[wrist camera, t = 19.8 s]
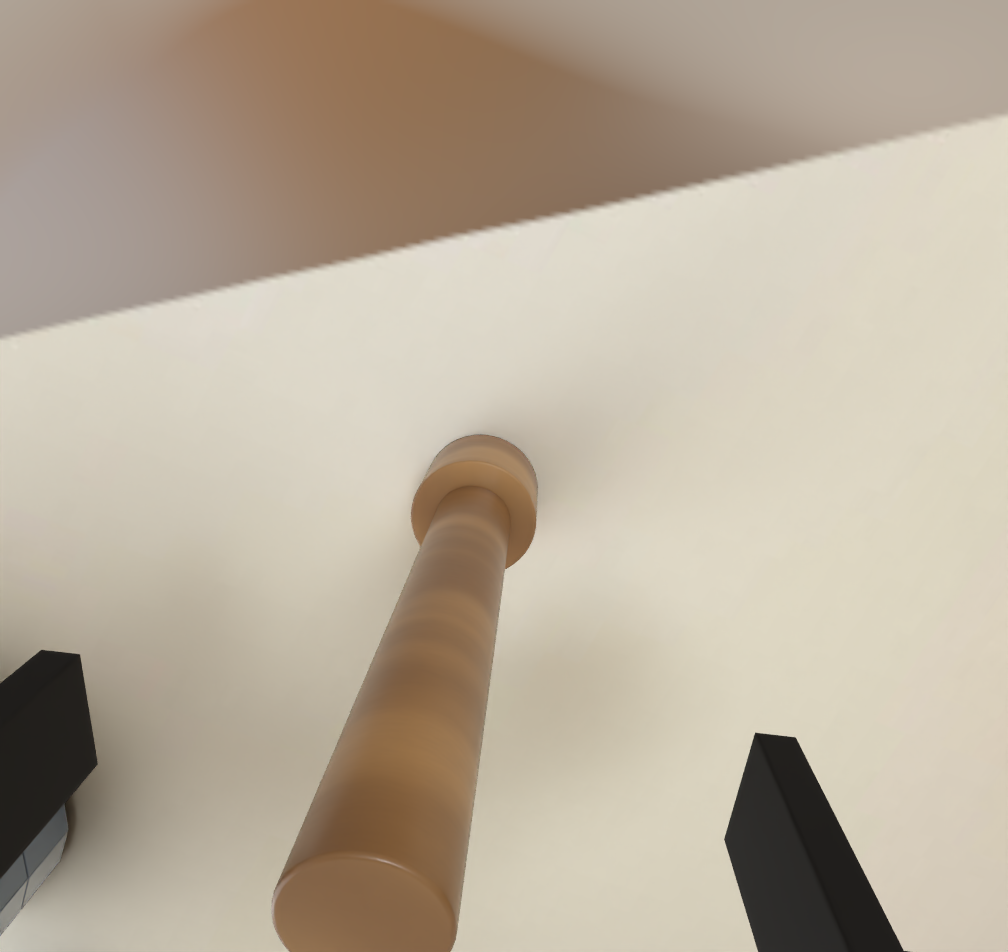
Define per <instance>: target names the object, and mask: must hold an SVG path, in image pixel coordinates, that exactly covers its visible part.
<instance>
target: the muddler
mask: <svg viewBox="0 0 1008 952" xmlns="http://www.w3.org/2000/svg"><path fill="white" fill-rule="evenodd" d="M537 488H538V487H537V479H536V475H535V472H534V469H533V467H532V465H531V463H530V462H529V460H528V459H527V457H526V456H525V455H524V454H523V453H522V452H521V451H520V450H519V449H518V448H517V447H515V446H514V445H513V444H511V443H509V442H508V441H505V440H503V439H501V438H497V437H494V436H488V435H472V436H467V437H463V438H460V439H458V440H456V441H454V442H452V443H450V444H449V445H447V446H446V447H445V448H444V449H443V450H442V451H440V453H439V454H438V455H437V456H436V458H435V459H434V461H433V463H432V464H431V466H430V468H429V470H428V472H427V474H426V475H425V477H424V479H423V481H422V483H421V485H420V487H419V488H418V490H417V492H416V495H415V497H414V500H413V504H412V510H411V522H412V528H413V531H414V534H415V537H416V539H417V541H418V543H419V545H420V546H421V548H420V550H419V552H418V555H417V557H416V559H415V562H414V564H413V566H412V569H411V571H410V573H409V576H408V578H407V580H406V583H405V585H404V587H403V590H402V592H401V595H400V597H399V599H398V602H397V604H396V606H395V609H394V611H393V613H392V616H391V618H390V620H389V623H388V625H387V627H386V630H385V632H384V634H383V637H382V639H381V641H380V644H379V646H378V649H377V651H376V653H375V656H374V658H373V660H372V663H371V665H370V667H369V670H368V672H367V674H366V677H365V679H364V681H363V684H362V686H361V688H360V691H359V693H358V695H357V698H356V700H355V703H354V705H353V707H352V710H351V712H350V714H349V717H348V719H347V721H346V724H345V726H344V728H343V731H342V733H341V735H340V738H339V740H338V742H337V745H336V747H335V749H334V752H333V754H332V757H331V759H330V761H329V764H328V766H327V768H326V771H325V773H324V775H323V778H322V780H321V782H320V785H319V787H318V789H317V792H316V794H315V796H314V799H313V801H312V803H311V806H310V808H309V810H308V813H307V815H306V818H305V820H304V822H303V825H302V827H301V829H300V832H299V834H298V836H297V839H296V841H295V843H294V846H293V848H292V850H291V853H290V855H289V857H288V860H287V862H286V864H285V867H284V869H283V872H282V874H281V876H280V879H279V881H278V883H277V886H276V888H275V890H274V894H273V898H272V919H273V924H274V927H275V930H276V932H277V934H278V936H279V938H280V940H281V941H282V943H283V944H284V946H285V947H286V948H287V949H288V950H289V951H290V952H450V951H451V950H452V948H453V945H454V943H455V940H456V934H457V928H458V920H459V913H460V905H461V897H462V890H463V882H464V875H465V867H466V860H467V852H468V844H469V837H470V829H471V822H472V814H473V807H474V799H475V791H476V784H477V776H478V769H479V761H480V754H481V746H482V739H483V731H484V723H485V716H486V708H487V701H488V693H489V686H490V678H491V670H492V663H493V655H494V648H495V640H496V633H497V625H498V617H499V610H500V602H501V595H502V587H503V580H504V572H505V569H507V568H508V567H510V566H511V565H513V564H514V563H516V562H517V561H518V560H519V559H520V558H521V557H522V556H523V555H524V554H525V552H526V551H527V549H528V548H529V546H530V544H531V542H532V540H533V537H534V534H535V529H536V513H537Z"/></svg>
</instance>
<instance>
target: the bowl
mask: <svg viewBox="0 0 1008 952" xmlns="http://www.w3.org/2000/svg"><path fill="white" fill-rule="evenodd" d="M68 828H69V827H68V821H67V816H66V810H65V804H64V805H63V806H62V807H61V808H60V809H59V811H58V812H57V813H56V814H55V815H54V816H53V818H52V819H51V820H50V821H49V822H48V824H47V825H46V826H45V827H44V828H43V829H42V831H41V832H40V833H39V834H38V835H37V836H36V838H35V839H34V840H33V841H32V842H31V844H30V845H29V846H28V847H27V848H26V849H25V851H24V852H23V853H22V854H21V855H20V857H19V858H18V859H17V860H16V861H15V862H14V864H13V865H12V866H11V867H10V868H9V869H8V871H7V872H6V873H5V874H4V875H3V877H2V878H1V879H0V936H1V934H2V933H3V932H4V931H5V929H6V928H7V927H8V926H9V924H10V923H11V922H12V921H13V919H14V918H15V917H16V916H17V914H18V913H19V912H20V910H21V909H22V908H23V907H24V906H25V904H26V903H27V902H28V901H29V899H30V898H31V897H32V896H33V894H34V893H35V892H36V891H37V889H38V888H39V887H40V886H41V884H42V883H43V882H44V881H45V879H46V878H47V877H48V876H49V874H50V873H51V872H52V871H53V869H54V868H55V867H56V866H57V864H58V863H59V862H60V860H61V856H62V852H63V849H64V845H65V841H66V837H67V833H68Z"/></svg>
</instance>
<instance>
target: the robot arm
mask: <svg viewBox="0 0 1008 952" xmlns="http://www.w3.org/2000/svg"><path fill="white" fill-rule="evenodd" d="M97 765H98V763H97V757H96V750H95V744H94V738H93V732H92V726H91V720H90V714H89V707H88V701H87V695H86V689H85V683H84V677H83V670H82V664H81V658H80V654H72V653H63V652H55V651H46V650H41V651H40V652H38V653H37V654H36V655H35V656H33V657H32V658H31V659H30V660H29V661H27V662H26V663H25V664H24V665H22V666H21V667H20V668H19V669H18V670H16V671H15V672H14V673H13V674H11V675H10V676H9V677H8V678H6V679H5V680H4V681H3V682H2V683H0V879H1V878H2V877H3V875H4V874H5V873H6V872H7V871H8V869H9V868H10V867H11V866H12V865H13V864H14V862H15V861H16V860H17V859H18V858H19V857H20V855H21V854H22V853H23V852H24V851H25V849H26V848H27V847H28V846H29V845H30V844H31V842H32V841H33V840H34V839H35V838H36V836H37V835H38V834H39V833H40V832H41V831H42V829H43V828H44V827H45V826H46V825H47V824H48V822H49V821H50V820H51V819H52V818H53V816H54V815H55V814H56V813H57V812H58V811H59V809H60V808H61V807H62V806H63V805H64V804H65V802H66V801H67V800H68V799H69V798H70V796H71V795H72V794H73V793H74V792H75V791H76V789H77V788H78V787H79V786H80V785H81V783H82V782H83V781H84V780H85V779H86V778H87V776H88V775H89V774H90V773H91V772H92V771H93V769H94V768H95V767H96V766H97ZM724 840H725V843H726V846H727V850H728V853H729V856H730V860H731V863H732V866H733V870H734V873H735V876H736V880H737V883H738V886H739V890H740V893H741V896H742V899H743V903H744V906H745V909H746V913H747V916H748V919H749V923H750V926H751V929H752V933H753V936H754V939H755V943H756V946H757V949H758V952H908V951H904V950H903V949H902V947H901V945H900V943H899V941H898V939H897V937H896V935H895V933H894V931H893V929H892V927H891V925H890V923H889V921H888V919H887V917H886V915H885V913H884V911H883V909H882V907H881V905H880V903H879V901H878V899H877V897H876V895H875V893H874V891H873V889H872V887H871V885H870V883H869V881H868V879H867V877H866V876H865V874H864V872H863V870H862V868H861V866H860V864H859V862H858V860H857V858H856V856H855V854H854V852H853V850H852V848H851V846H850V844H849V842H848V840H847V838H846V836H845V834H844V832H843V830H842V828H841V826H840V824H839V822H838V820H837V818H836V816H835V814H834V812H833V810H832V808H831V806H830V804H829V803H828V801H827V799H826V797H825V795H824V793H823V791H822V789H821V787H820V785H819V783H818V781H817V779H816V777H815V775H814V773H813V771H812V769H811V767H810V765H809V763H808V761H807V759H806V757H805V755H804V753H803V751H802V749H801V747H800V745H799V743H798V741H797V739H796V738H795V737H787V736H778V735H770V734H761V733H755V735H754V739H753V742H752V746H751V749H750V753H749V756H748V759H747V763H746V766H745V770H744V773H743V777H742V780H741V784H740V787H739V790H738V794H737V797H736V801H735V804H734V808H733V811H732V815H731V818H730V821H729V825H728V828H727V832H726V835H725V839H724Z"/></svg>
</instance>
